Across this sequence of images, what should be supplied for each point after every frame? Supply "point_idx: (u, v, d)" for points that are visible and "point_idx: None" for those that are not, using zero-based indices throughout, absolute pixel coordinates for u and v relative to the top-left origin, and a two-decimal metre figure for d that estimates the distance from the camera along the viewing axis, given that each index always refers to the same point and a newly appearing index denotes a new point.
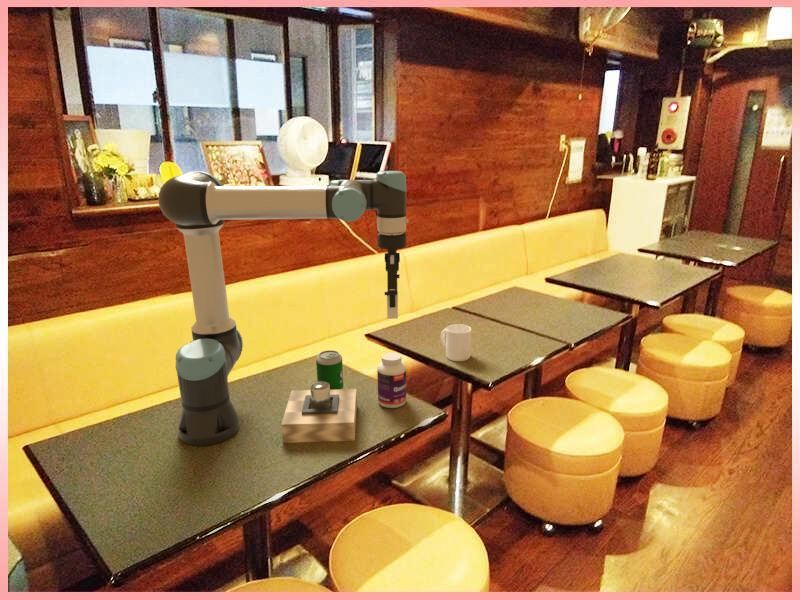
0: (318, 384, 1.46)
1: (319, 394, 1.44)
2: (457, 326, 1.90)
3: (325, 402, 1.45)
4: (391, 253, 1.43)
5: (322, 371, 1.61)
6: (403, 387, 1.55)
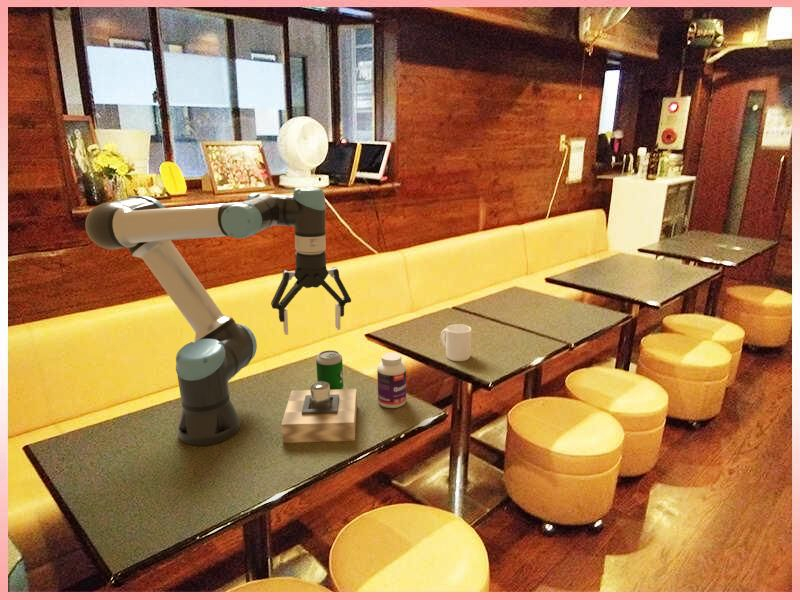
0: (318, 384, 1.46)
1: (319, 394, 1.44)
2: (457, 326, 1.90)
3: (325, 402, 1.45)
4: (296, 270, 1.40)
5: (322, 371, 1.61)
6: (403, 387, 1.55)
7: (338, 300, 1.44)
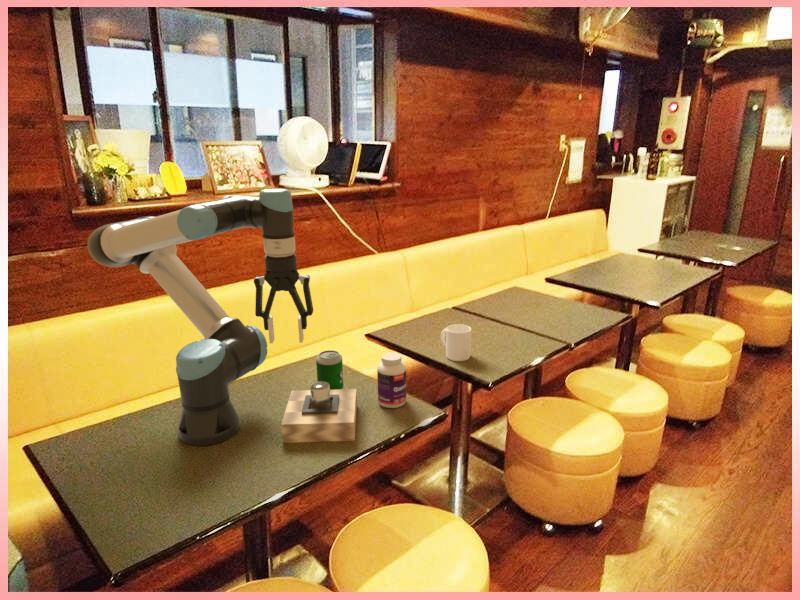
0: (318, 384, 1.46)
1: (319, 394, 1.44)
2: (457, 326, 1.90)
3: (325, 402, 1.45)
4: None
5: (322, 371, 1.61)
6: (403, 387, 1.55)
7: (300, 311, 1.40)
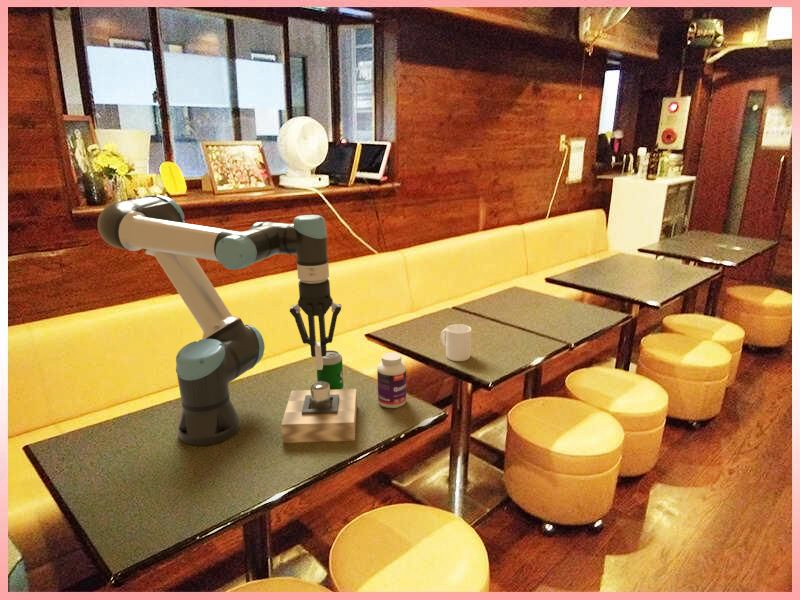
0: (318, 384, 1.46)
1: (319, 394, 1.44)
2: (457, 326, 1.90)
3: (325, 402, 1.45)
4: None
5: (322, 371, 1.61)
6: (403, 387, 1.55)
7: (321, 338, 1.40)
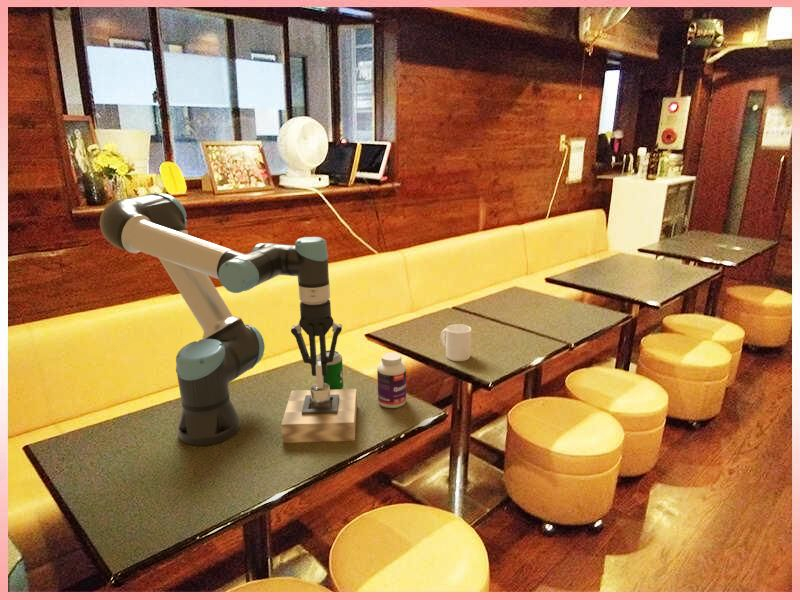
0: None
1: (319, 395, 1.44)
2: (457, 326, 1.90)
3: (325, 404, 1.45)
4: None
5: None
6: (403, 387, 1.55)
7: (322, 358, 1.42)
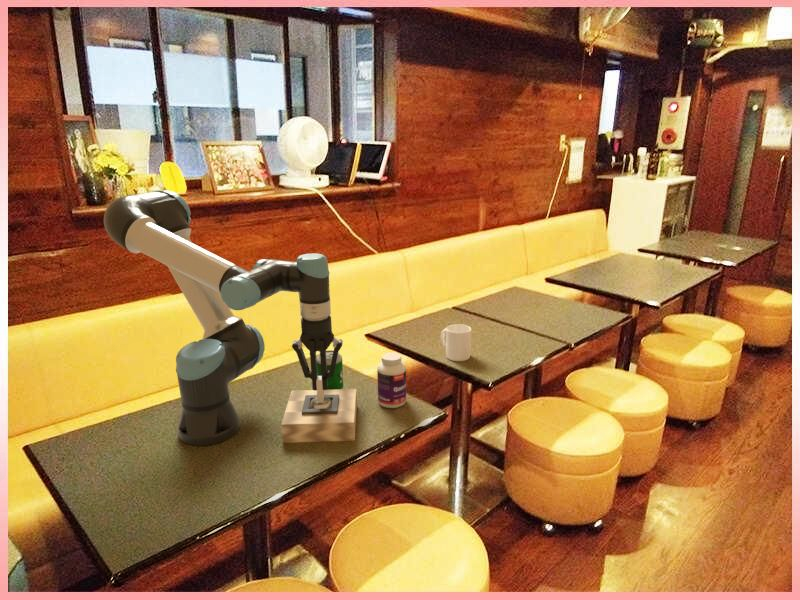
0: None
1: None
2: (457, 326, 1.90)
3: None
4: None
5: None
6: (403, 387, 1.55)
7: (323, 372, 1.43)
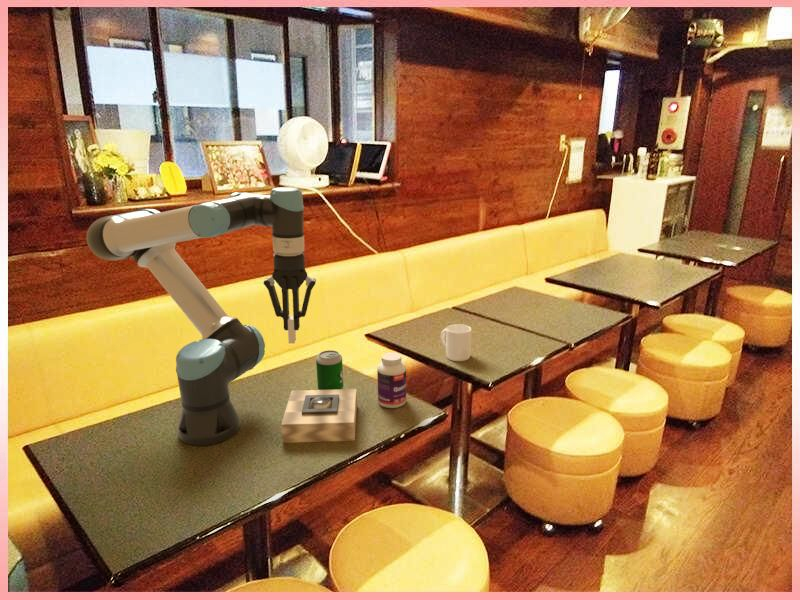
0: (319, 400, 1.48)
1: None
2: (457, 326, 1.90)
3: None
4: None
5: (322, 371, 1.61)
6: (403, 387, 1.55)
7: (294, 312, 1.41)
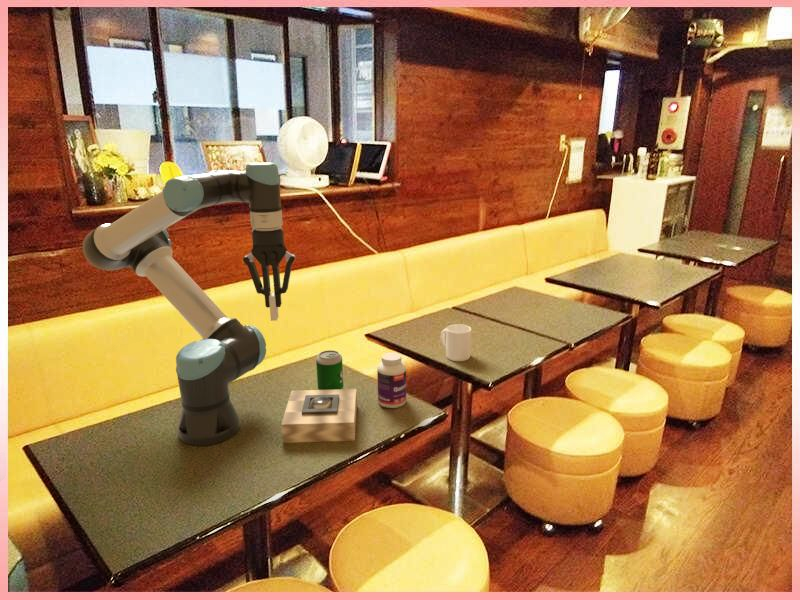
0: (319, 400, 1.48)
1: None
2: (457, 326, 1.90)
3: None
4: None
5: (322, 371, 1.61)
6: (403, 387, 1.55)
7: (275, 288, 1.40)
